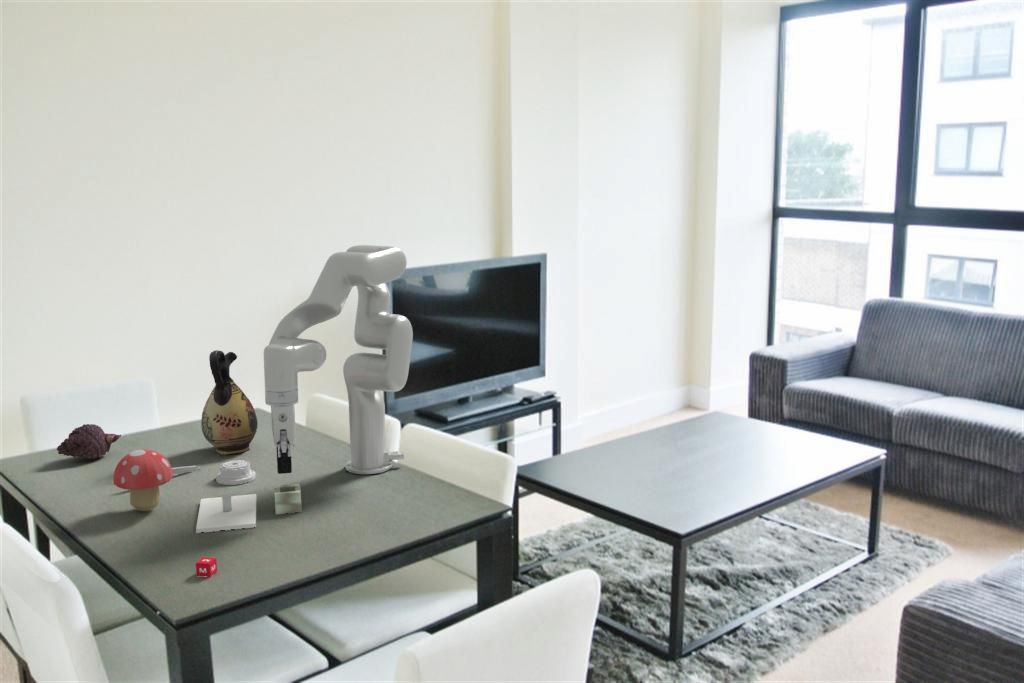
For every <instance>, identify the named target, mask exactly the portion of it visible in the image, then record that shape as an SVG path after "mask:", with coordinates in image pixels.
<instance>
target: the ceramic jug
mask: <svg viewBox="0 0 1024 683" xmlns="http://www.w3.org/2000/svg"><path fill="white" fill-rule="evenodd" d="M237 359H238V355H237V354H236V353H235V352H233V351H228V352H227V353H226V354H225V352H224V351H223V350H213V351H212V352H210V354H209V358H208V360H209V367H210V370H211V375H212V378H213V380H214V384H215V385H214V386H213V389H212V390H211V392H210V394H209V395H208V398H207V400H206V401H205V404H204V407H203V409H202V414H201V425H200V427H201V432H202V434H203V436H204V438H205V440H206V441H207V442H208V443H209V444H210V445H212V446H213V448H214V451H217V452H218V454H219V453H220V455H223V454H224V455H223V456H226V455H231V454H232V455H233V454H238V453H245V452H247V451H249V450H250V449H249V447H250V444H251V443H252V441H253V439H255V436H256V434H257V430H258V423H259V422H258V419H257V418H258V417H257V414H256V411H255V408H254V406H253V404H252V402H251V401H250V399H249V397H248V396H247V395H246V394H245V393H244V391H243V389H241V388H240V387H239V385H237V383H235V381H234V379H232V378H231V376H230V368H231V367H230V366H232V364H233V363H234V362H235V361H236V360H237ZM248 449H249V450H248ZM217 452H216V453H217Z"/></svg>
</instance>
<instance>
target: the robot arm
mask: <svg viewBox="0 0 1024 683" xmlns="http://www.w3.org/2000/svg"><path fill="white" fill-rule="evenodd" d="M407 264H408V263H407V257H406V254H405V252H404V251H403V250H402V249H401V248H399V247H396V246H392V245H391V246H387V245H371V244H370V245H367V244H363V245H362V244H361V245H353V246H350V247H348V249H346V251H338V252H335V253H333V254H331V255H330V256H329V257H328V258H327V260H326V261H325V264H324V265H323V268H322V270H321V272H320V274H319V276H318V279H317V281H316V283H315V284H314V287H313V288H312V290H311V293H310V295H309V296H308V298H307V299H306V300H304V301H302V302H301V303H299V304H298V305H297V306H295V308H293V309H292V310H291V311H289V312H288V313H287V314H286V315H285V316H284V317H283V318H282V319H280V321H279V322H278V324H277V326H276V328H275V329H274V332H273V333H272V336H271V338H270V340H269V343H268V345H266V346H265V347H264V348H263V369H264V370H263V371H264V372H263V373H264V375H263V376H264V398H265V399H264V401H265V405H267V406H270V414H271V415H270V416H271V430H272V437H273V442H274V446H275V448H276V463H277V467H276V468H277V474H279V475H281V474H291V473H292V472H293V469H292V468H293V467H292V455H291V446H293V447H295V446H296V444H297V441H296V440H297V439H296V438H297V434H296V412H295V404H298V403H299V384H298V382H299V381H298V380H299V379H298V378H299V376H298V373H302V372H303V373H304V372H313V371H316V370H318V369H320V368H322V366H323V365H324V363H325V362H326V360H327V350H326V348H325V346H324V345H323V344H322V343H321V342H320V341H318V340H314V339H308V338H306V339H305V338H301V337H299V336H300V335H301V334H302V333H304V332H305V331H306V330H308V329H309V328H311V327H313V326H316V325H318V324H321V323H325V322H327V321H329V320H331V319H334V318H336V317H338V316H339V315H340V314H341V313H342V310H343V308H344V306H345V304H346V301H347V299H348V298H349V295H350V293H351V291H352V289H353V288H354V287H356V289H357V308H356V316H355V323H354V331H353V333H354V334H353V335H354V336H353V337H354V341H355V343H356V344H357V345H358V346H360V347H363V348H366V349H376V350H386V354H379V353H374V352H373V353H372V352H355V353H353V354H351V355H350V356H348V357H347V358H346V359H345V361H344V364H343V369H342V370H343V379H344V382H345V387H346V392H347V398H348V399H347V401H348V420H349V422H348V424H349V444H350V445H349V446H350V460H349V461H347V462H346V463H345V466H344V467H345V470H346V471H348V472H349V473H351V474H355V475H377V474H382V473H384V472H387V471H389V470H391V469H392V467H393V461H397V460H398V461H401V460H404V458H405V455H404V452H403V451H402V452H399V451H398V450H394V451H389V450H388V448H387V444H386V441H387V440H386V436H387V435H386V414H385V413H386V410H385V407H386V406H385V405H386V404H385V401H384V398H383V395H382V394H381V391H382V392H392V393H396V392H399V391H401V390H402V389H403V388H405V385H406V383H407V381H408V376H409V373H410V372H409V370H410V364H411V354H412V347H413V340H414V339H413V337H414V332H413V326H412V324H411V321H410V320H409V319H408V318H407V316H404V315H403V314H402V315H401V314H395V313H390V306H391V293H390V290H389V287H388V285H387V283H389V282H392V281H395V280H398V279H399V278H401V276H403V275H404V273H405V271H406V269H407Z"/></svg>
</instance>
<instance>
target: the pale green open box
mask: <svg viewBox="0 0 1024 683" xmlns="http://www.w3.org/2000/svg"><path fill="white" fill-rule="evenodd" d="M301 491H302V490H301V484H300V483H297V484H296V483H295V484H284V485H274V506H275V508H274V509H275V515H276V516H277V515H285V514H286V513H288V514H296V513H295V512H298V513H303V510H302V493H301ZM286 515H287V514H286Z"/></svg>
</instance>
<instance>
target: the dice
mask: <svg viewBox="0 0 1024 683" xmlns="http://www.w3.org/2000/svg"><path fill="white" fill-rule="evenodd" d="M217 559H218V558H217V557H209V556H208V557H207V556H202V557H200V558H199V560H198V561H196V562H195V572H196V573H195V575H196V577H197V576H207V577H206V578H209V577H211V576H212V575H213V574H214V573H215V572H216V571H217V572H218V562H217ZM217 572H216V573H217ZM216 573H215V574H216ZM215 574H214V575H215ZM214 575H213V576H214ZM213 576H212V577H213ZM212 577H211V578H212Z"/></svg>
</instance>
